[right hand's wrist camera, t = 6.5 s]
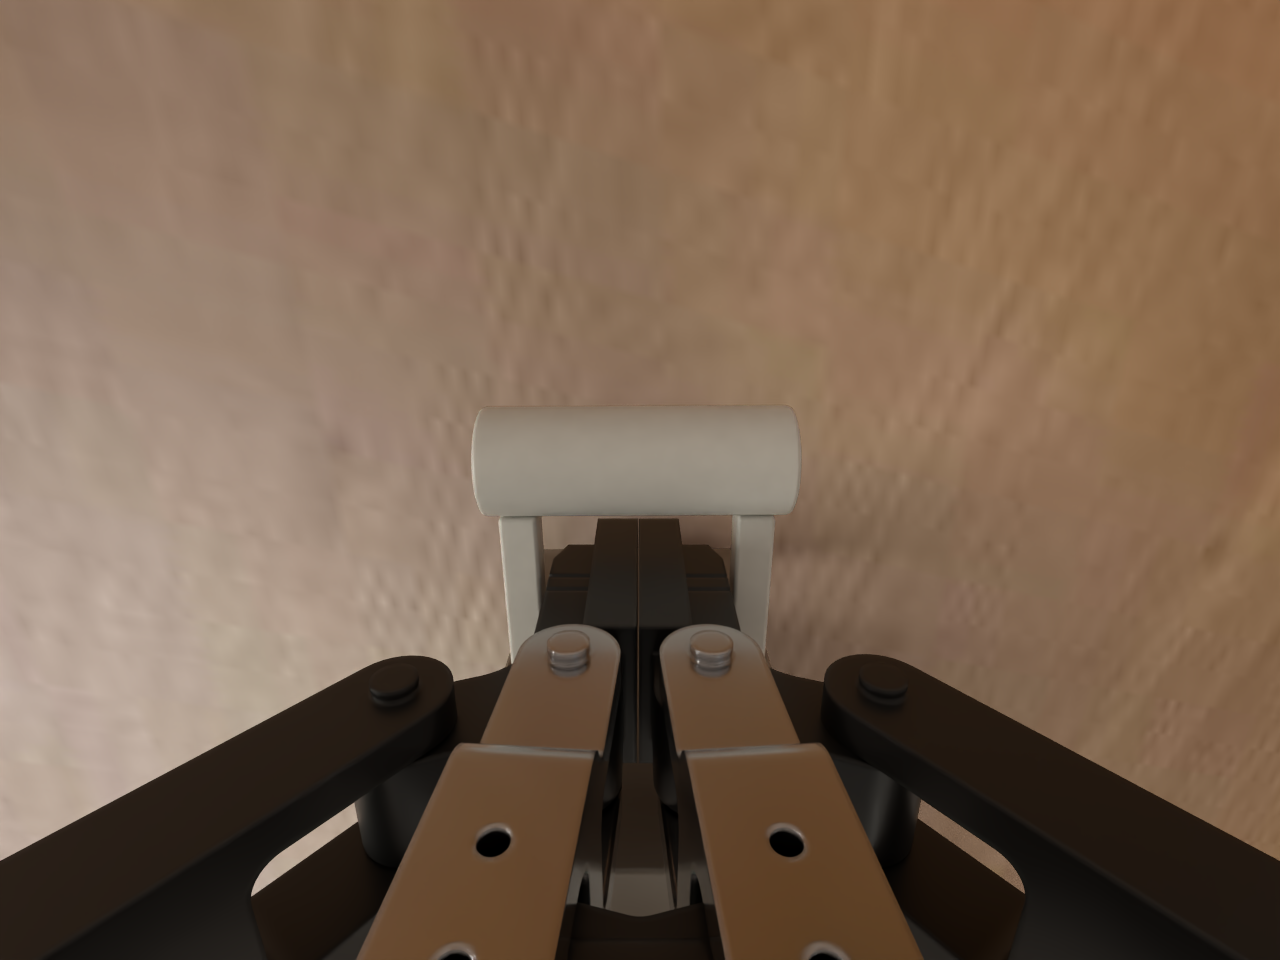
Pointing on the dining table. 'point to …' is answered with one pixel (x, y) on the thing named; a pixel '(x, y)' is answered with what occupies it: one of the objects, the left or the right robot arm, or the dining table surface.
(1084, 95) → the dining table surface
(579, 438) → the drawer
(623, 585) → the right robot arm
